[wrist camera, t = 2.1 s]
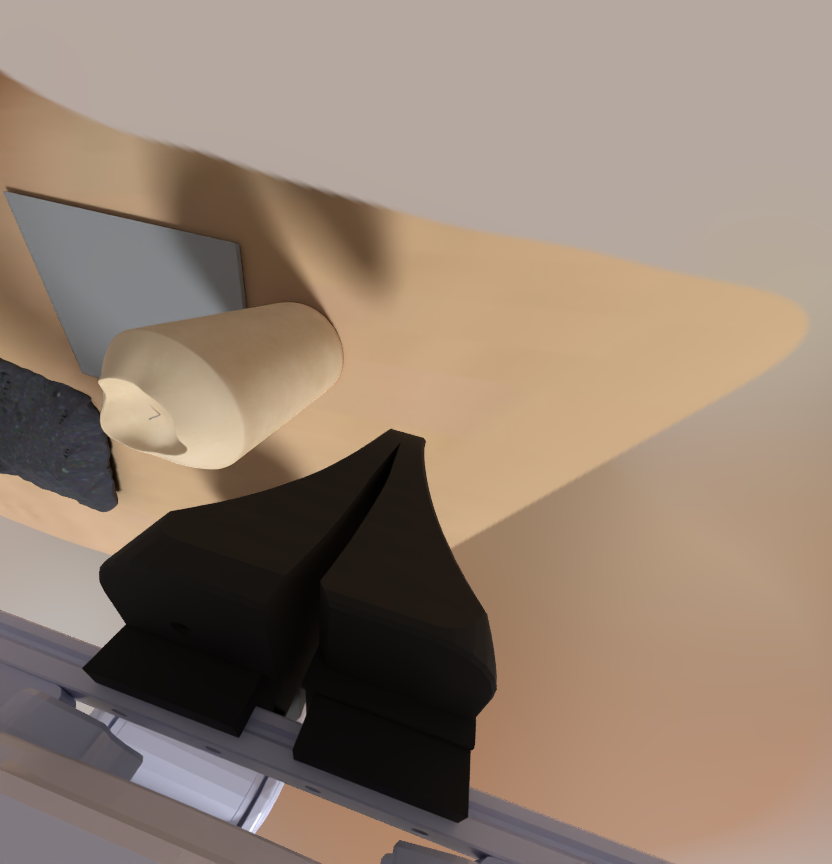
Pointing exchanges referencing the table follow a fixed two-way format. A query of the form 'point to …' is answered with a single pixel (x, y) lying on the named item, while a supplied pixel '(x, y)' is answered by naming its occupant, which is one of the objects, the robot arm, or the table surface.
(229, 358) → the candle
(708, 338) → the table surface
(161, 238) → the slate mat
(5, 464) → the dark slate chunk
